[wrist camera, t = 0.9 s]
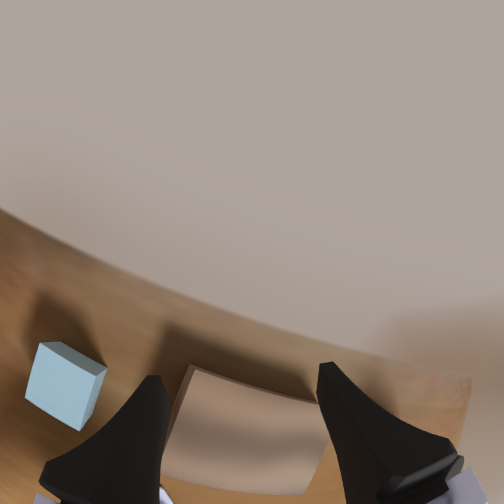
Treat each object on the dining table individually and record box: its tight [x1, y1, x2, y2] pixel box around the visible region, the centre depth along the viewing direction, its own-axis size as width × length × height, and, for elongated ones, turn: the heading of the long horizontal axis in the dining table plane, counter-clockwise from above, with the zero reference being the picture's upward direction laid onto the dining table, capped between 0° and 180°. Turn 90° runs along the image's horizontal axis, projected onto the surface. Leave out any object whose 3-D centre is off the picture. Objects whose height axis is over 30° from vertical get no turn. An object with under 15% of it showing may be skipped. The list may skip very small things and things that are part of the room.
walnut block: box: [160, 363, 330, 495], centre depth 20 cm, size 10×14×4 cm
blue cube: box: [25, 341, 107, 431], centre depth 16 cm, size 5×5×5 cm
